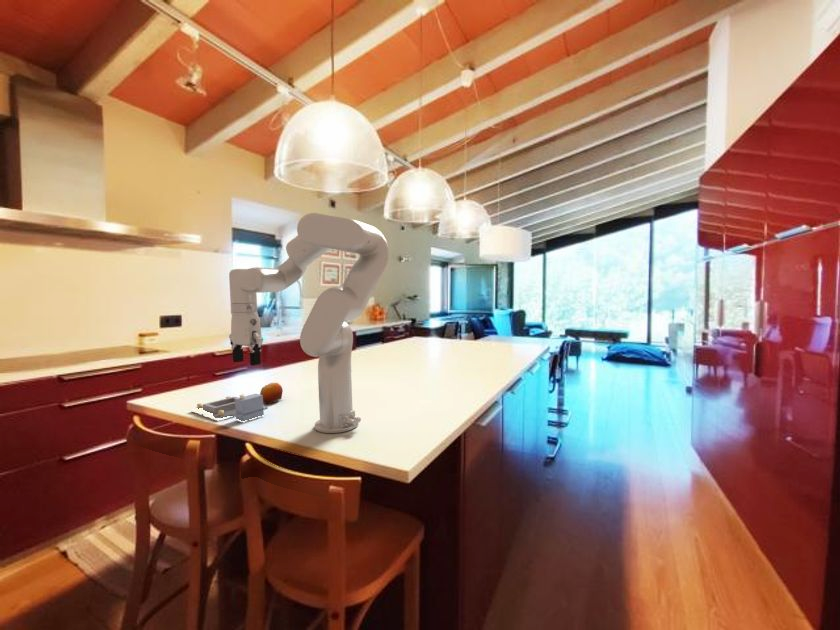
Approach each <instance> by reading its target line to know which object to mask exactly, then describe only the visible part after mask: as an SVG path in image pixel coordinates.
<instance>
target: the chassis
mask: <svg viewBox="0 0 840 630" xmlns="http://www.w3.org/2000/svg"><path fill="white" fill-rule="evenodd" d="M236 398H239V397H237V396H231V395H230V396H225V398H224V399H223V398H222V399H219V400H214V401H210V402H207V403H202V402H201V403H197V405H196V408H198V409H199V408H203V410H205V411H207V412H210V413H213V416H214V417H215V418H223V417H227V416H232V415H231V413H234V412H236V409H235V399H236Z"/></svg>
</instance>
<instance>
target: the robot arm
mask: <svg viewBox="0 0 840 630" xmlns="http://www.w3.org/2000/svg"><path fill="white" fill-rule="evenodd" d="M296 233H297V235H296V236H295V237H293V238H292V239H291V240H289V241H287V243H286V246H285V250H286V254H287V256H288V258H287V259H286V260H285V261H284V262H283V263H281V264H280V265H278V266H277V267H274V268H273V267H251V268H234V269H231V270H230V271H229V273H228V276H229V277H228V279H229V296H230V297H229V298H230V301H229V302H230V315H231V319H230V320H231V321H230V322H231V323H230V334H229V335H228V338H229V341H230V342H229V345H231V347H230V348H231V351H232V352H231V353H232V363H238V362H243V361H244V350H243V348H242V347H243V346H244V347H248V348H249V351H250V352H249V365H250V366H252V367H253V366H258V365H261V352H262V347H263V343H264V338H263V337H262V329H261V322H260V317H259V313H258V295H257V293H258V294H259V293H279V292H283V291H285V290H286V289H288V288H290V286H292V285H293V284H295V283H296V282H298V281H299V280H300V279H301V278H302V276H303V275H304V274H305V272H306V270H307V268H308V266H309V265H311V264H312V263H313V262H314V261H316V260H317V259H319V258H320V257H322V256H323V255H324V254H326V253H327V252H329V251H330V250H331V249H332V250H336V251H342V252H346V253H351V254H355V255H356V254H357V255H359V257H358V259H357V260H356V262H354V264H353V265H352V266H351V268H350V269H349V271H348V274H347V276H346V277H345V279H344V281H343V282H342V284H341V285H340V286H332V287H329V288H326V289H324V291H322V292H321V293H320V295H318V297H317V299H316V300H315V303H314V304H313V307H312V308H311V310H310V312H309V314H308V316H307V317H306V320H305V323H304V324H303V327H302V329H301V332H300V336H299V343H300V346H301V349H302V350H303V352H304V353H305V354H306V355H308V356H310V357H314V358H318V364H317V380H318V404H319V419H318V420H317V421H315V422H314V429H315V430H316V431H317V432H320V433H323V434H338V433H344V432H349V431H351V430H354V429H355V428H357V427H358V425H359V423H360V422H361V420H362V418H361V417H358V416H356V411H355V410H353V408H354V407H353V385H352V384H353V382H352V352H353V351H352V350H353V345H354V344H353V343H354V334H353V330H352V327H351V326H350V325H349V323H348V321H353V320H356V319H358V318H360V317H361V316H362V314H363V313H364V311H365V309H366V307H367V305H368V302H370V301H369V300H370V299H371V298H372V296H373V293H374V291H375V290H376V287H377V285H378V283H379V282H380V280H381V277H382V276H383V274H384V272H385V270H386V268H387V266H388V263H389V259H390V247H389V244H388V241H387V239H386V238H385V236H384V234H383V233H382V232H381V231H380V230H379V229H378V228H377V227H375V226H374V225H370V224H368V223H365V222H362V221H359V220H357V219H353V218H347V217H342V216H335V215H328V214H324V213H320V212H319V213H318V212H310V213H306V214H305V215H303V216H302V217H301V218H300V220H299V221H298V223H297V227H296Z"/></svg>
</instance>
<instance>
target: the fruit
mask: <svg viewBox="0 0 840 630" xmlns="http://www.w3.org/2000/svg"><path fill="white" fill-rule="evenodd" d="M283 392H284V391H283V387H282V385H281V384H280V383H278V382H270V383H268V384H267V385H264V386H263V387H262V388H261V389H260V392H259V395H263V403H264V402H265V403H264V404H268V403H269V404H272V402H274V403H278V402H279V401H280V400H281V399H282V397H283Z"/></svg>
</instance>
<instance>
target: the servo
mask: <svg viewBox="0 0 840 630" xmlns="http://www.w3.org/2000/svg"><path fill="white" fill-rule="evenodd" d="M235 409H236V412H234V413H231V415H232V416H235V417H234V418H235V420H236V419H239V420H241V421H245V420H249V419H252V418H255V417H258V416H262V415H264V411H265V410H267V409H268V406H265V405H264V402H263V395H260V393H253V394H249V395H246V394H241V395H239V397H238V398H236V399H235ZM264 416H265V415H264Z"/></svg>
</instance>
